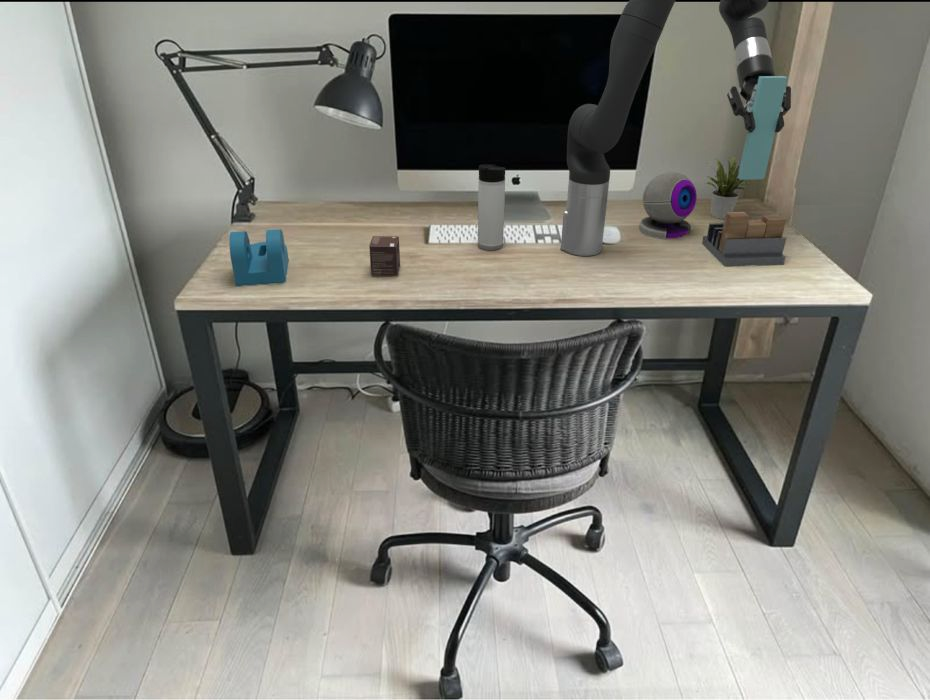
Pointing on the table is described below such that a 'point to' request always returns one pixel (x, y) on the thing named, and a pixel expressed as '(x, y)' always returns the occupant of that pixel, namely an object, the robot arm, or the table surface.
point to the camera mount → (258, 258)
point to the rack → (744, 248)
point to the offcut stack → (751, 227)
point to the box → (384, 256)
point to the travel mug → (491, 206)
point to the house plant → (725, 190)
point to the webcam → (668, 205)
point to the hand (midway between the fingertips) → (765, 130)
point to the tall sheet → (762, 127)
